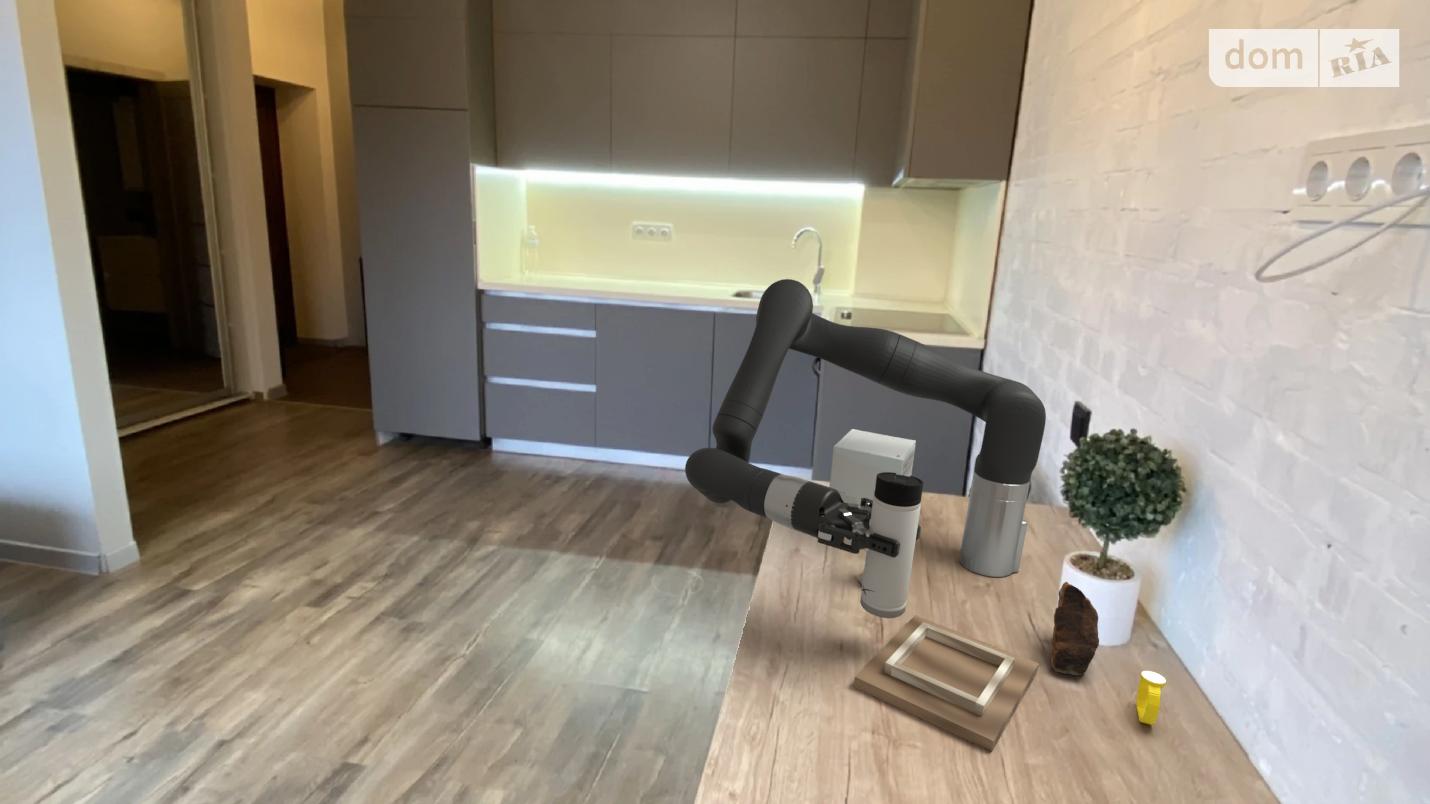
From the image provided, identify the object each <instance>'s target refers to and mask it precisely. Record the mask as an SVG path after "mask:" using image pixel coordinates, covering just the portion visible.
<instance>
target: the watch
mask: <svg viewBox="0 0 1430 804" xmlns="http://www.w3.org/2000/svg"><path fill="white" fill-rule="evenodd" d="M1166 683H1167V680H1166V678H1165V677H1164V676H1163V675H1161V674H1159V673H1157V672H1155V671H1153V670H1152V671H1151V670H1143V671H1141V673H1140V677H1139V683H1138V687H1137V694H1136V706H1135V707H1136V711H1137V716H1138V720H1139V722H1140V723H1142V724H1146V725H1149V726H1152V725H1153V726H1154V725H1155V724H1156V721H1157V719H1158V718H1159V713H1160V707H1161V696H1162V690H1161V689H1162V688H1165V687H1166Z"/></svg>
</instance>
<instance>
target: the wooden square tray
mask: <svg viewBox="0 0 1430 804" xmlns="http://www.w3.org/2000/svg"><path fill="white" fill-rule="evenodd" d="M1039 665H1040V663H1038V662H1036V661H1034V660H1031V659H1028V658H1026V657H1023V656H1021V655H1018V654H1015V653H1012V652H1010V651H1008V650H1005V649H1003V648H1001V647H997V646H995V645H992V644H990V643H987V642H985V641H982V640H979V639H977V638H975V637H973V636H970V635H968V634H965V633H961V632H959V631H957V630H954V629H951V628H950V627H946V626H944V625H941V624H940V623H937V622H934V621H931V620H928V619H926V618H924V617H921V616H919V615H916V614H915V615H913V617H911V619H909V620H908V622H907V623H906V624H904V626H903V627H902V628H900V630H899V631H898V632H897V633H896V634H895V635H894V636H893V637H892V638H891V639H890V640H889V641H888V642H887V643H886V644H885V645H884V646H883V647H882V648H881V649H880V650H879V652H877V654H875V655H874V657H873V658H872V659H870V661H869V662H867V664H865V666H864V667H863V668H862V669H860V671H859V672H858V673H857V674H856V675H855V676H854V681H853V687H854V688H856V689H858V688H859V689H858V690H860V691H863V692H864V693H866V694H868V695H870V696H873V697H875V698H877V699H879V700H881V701H883V702H886V703H888V704H890V705H891V706H894V707H896V708H898V709H900V710H902V711H904V712H907V713H909V714H911V715H913V716H915V717H917V718H919V719H921V720H924V721H926V722H928V723H930V724H932V725H934V726H936V727H938V728H940V729H943V730H944V731H947V732H949V733H951V734H953V735H955V736H957V737H959V738H961V739H963V740H965V741H968V742H970V743H972V744H974V745H977V746H978V747H980V748H983V749H985V750H986V751H989V752H991V753H992V752H993V750H994V749H995V748H996V745H997V744H998V742H999V740H1000V738H1001V737H1002V735H1003V733H1004V731H1005V730H1006V727H1007V726H1008V724H1009V722H1010V720H1011V719H1012V717H1013V716H1014V714H1015V711H1016V710H1017V708H1018V707H1019V706H1020V703H1021V702H1022V700H1023V698H1024V696H1025V694H1026V693H1027V692H1028V690H1029V688H1030V686H1031V684H1032V683H1033V681H1034V679H1035V677H1036V675H1037V674H1038V669H1039Z"/></svg>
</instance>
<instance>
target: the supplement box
mask: <svg viewBox="0 0 1430 804" xmlns="http://www.w3.org/2000/svg"><path fill="white" fill-rule="evenodd" d="M916 443H917V440H915V439H914V440H913V439H910V438H902V437H898V436H896V437H895V436H891V435H886V434H881V433H876V432H870V431H864V430H860V429H854V428H851V429H850V430H849V431H848V432H847V433H846V434H845V435H844V436H843V437H842V438H841V439H839V441H838V442H837V443H836V444H834V445H833V449H832V458H831V460H832V461H831V469H830V470H831V471H830V476H829V477H830V479H829V486H828V487H830V488H834V489H836V490H837V491H838V492H839V493H840V495H841V498H842V500H843V502H845V503H853V504H858V505H859V504H860V503H861V498H868V499H870V500H873V499H874V492H875V485H876V477H877V474H879V473H883V472H892V473H896V475H904V476H908V477H910V476H912V474H913V465H914V458H915V452H916ZM870 521H871V519H870ZM869 526H870V523H869Z"/></svg>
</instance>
